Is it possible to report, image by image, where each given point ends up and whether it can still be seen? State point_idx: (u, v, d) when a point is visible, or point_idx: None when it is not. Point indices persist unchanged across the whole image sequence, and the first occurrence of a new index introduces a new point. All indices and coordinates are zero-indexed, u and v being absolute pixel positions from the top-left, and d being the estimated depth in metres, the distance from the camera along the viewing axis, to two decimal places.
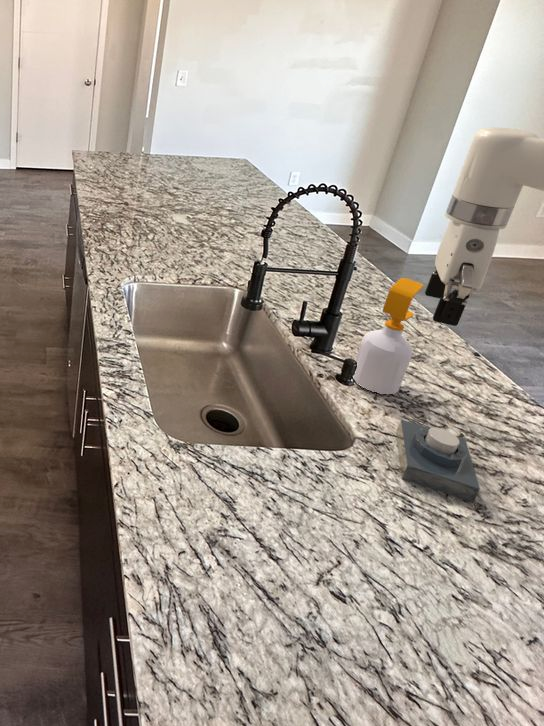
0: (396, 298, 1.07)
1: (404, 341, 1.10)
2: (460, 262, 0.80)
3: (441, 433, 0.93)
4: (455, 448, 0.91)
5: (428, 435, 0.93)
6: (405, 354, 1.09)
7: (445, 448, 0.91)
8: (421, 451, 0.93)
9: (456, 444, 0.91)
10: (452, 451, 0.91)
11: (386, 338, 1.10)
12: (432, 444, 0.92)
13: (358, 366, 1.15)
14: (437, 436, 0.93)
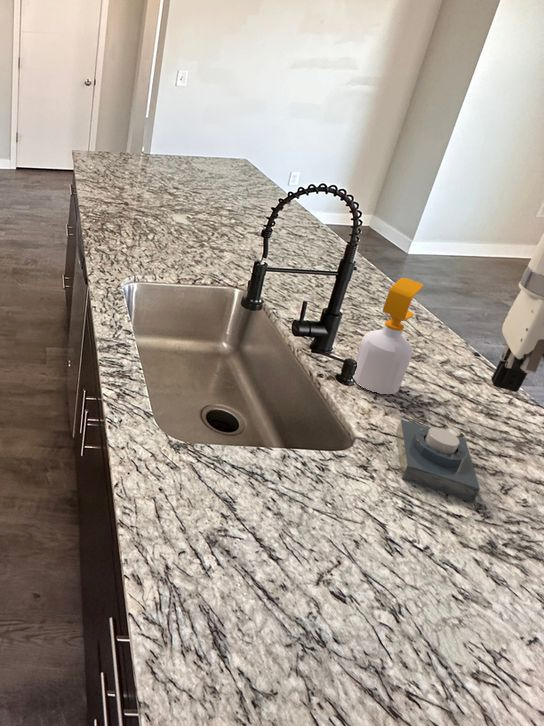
0: (396, 298, 1.07)
1: (404, 341, 1.10)
2: (536, 338, 0.77)
3: (441, 433, 0.93)
4: (455, 448, 0.91)
5: (428, 435, 0.93)
6: (405, 354, 1.09)
7: (445, 448, 0.91)
8: (421, 451, 0.93)
9: (456, 444, 0.91)
10: (452, 451, 0.91)
11: (386, 338, 1.10)
12: (432, 444, 0.92)
13: (358, 366, 1.15)
14: (437, 436, 0.93)
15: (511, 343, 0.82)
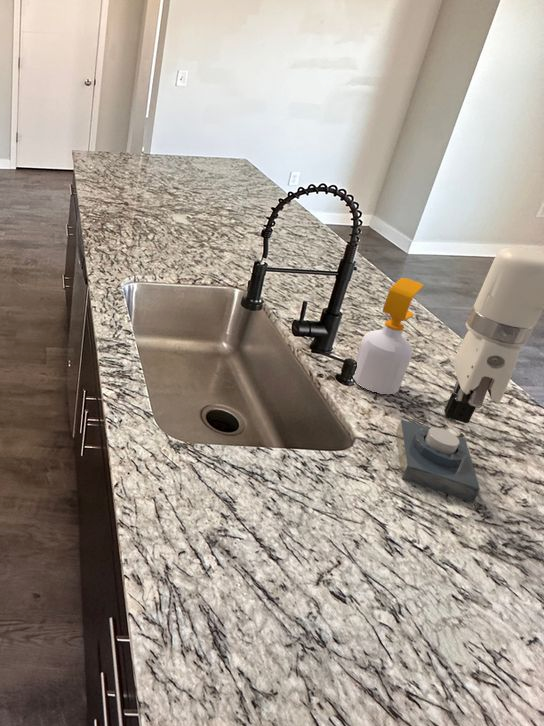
0: (396, 298, 1.07)
1: (404, 341, 1.10)
2: (481, 376, 0.82)
3: (441, 433, 0.93)
4: (455, 448, 0.91)
5: (428, 435, 0.93)
6: (405, 354, 1.09)
7: (445, 448, 0.91)
8: (421, 451, 0.93)
9: (456, 444, 0.91)
10: (452, 451, 0.91)
11: (386, 338, 1.10)
12: (432, 444, 0.92)
13: (358, 366, 1.15)
14: (437, 436, 0.93)
15: (460, 378, 0.87)
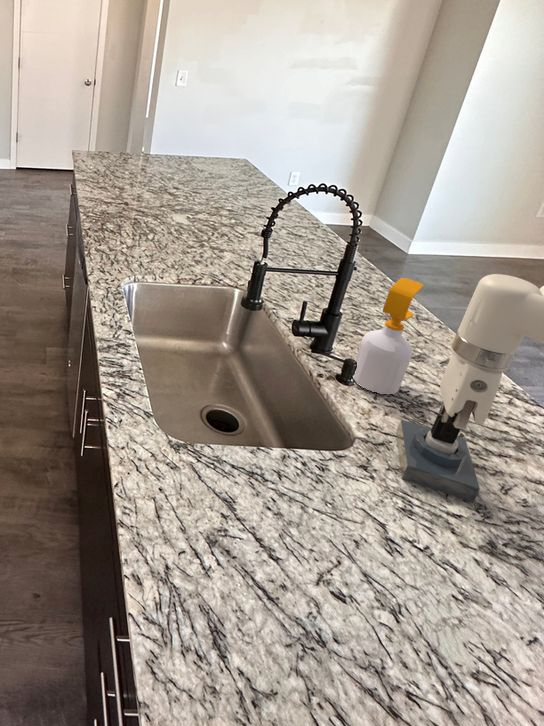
0: (396, 298, 1.07)
1: (404, 341, 1.10)
2: (464, 399, 0.85)
3: None
4: (454, 450, 0.91)
5: (427, 437, 0.94)
6: (405, 354, 1.09)
7: (444, 450, 0.91)
8: (421, 451, 0.93)
9: (455, 446, 0.91)
10: None
11: (386, 338, 1.10)
12: (431, 446, 0.93)
13: (358, 366, 1.15)
14: None
15: (445, 400, 0.89)
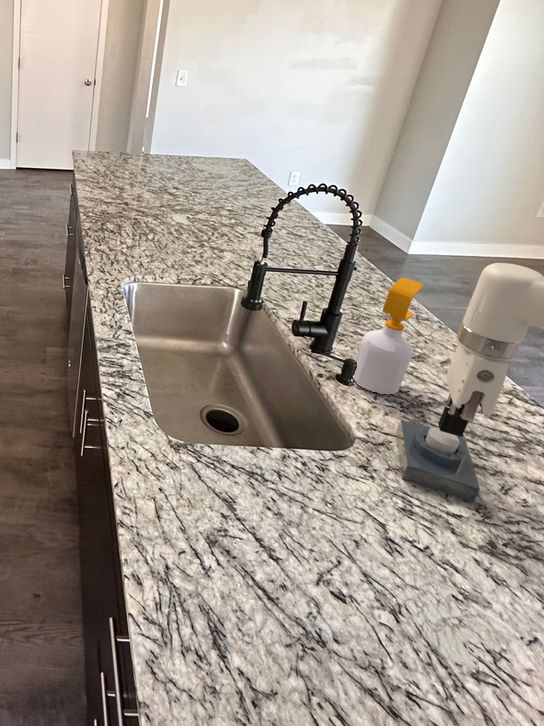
0: (396, 298, 1.07)
1: (404, 341, 1.10)
2: (471, 390, 0.84)
3: (441, 433, 0.93)
4: (455, 448, 0.91)
5: (428, 435, 0.93)
6: (405, 354, 1.09)
7: (445, 448, 0.91)
8: (421, 451, 0.93)
9: (456, 444, 0.91)
10: (452, 451, 0.91)
11: (386, 338, 1.10)
12: (432, 444, 0.92)
13: (358, 366, 1.15)
14: (437, 436, 0.93)
15: (452, 392, 0.88)
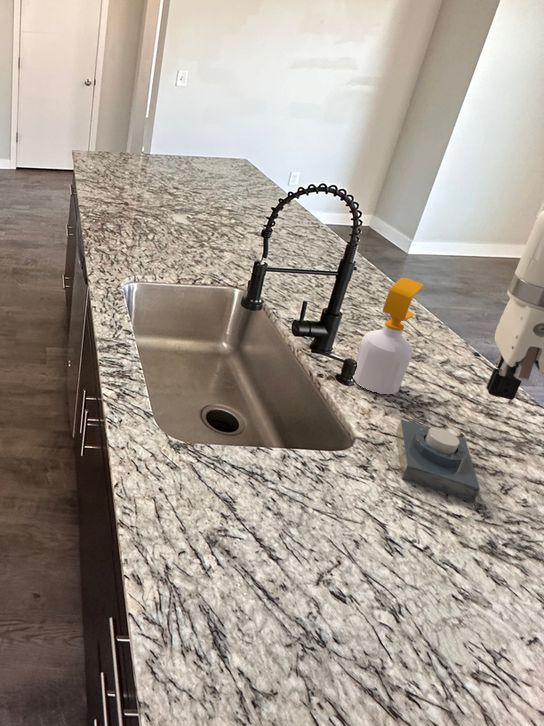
0: (396, 298, 1.07)
1: (404, 341, 1.10)
2: (527, 346, 0.77)
3: (441, 433, 0.93)
4: (455, 448, 0.91)
5: (428, 435, 0.93)
6: (405, 354, 1.09)
7: (445, 448, 0.91)
8: (421, 451, 0.93)
9: (456, 444, 0.91)
10: (452, 451, 0.91)
11: (386, 338, 1.10)
12: (432, 444, 0.92)
13: (358, 366, 1.15)
14: (437, 436, 0.93)
15: (503, 351, 0.82)
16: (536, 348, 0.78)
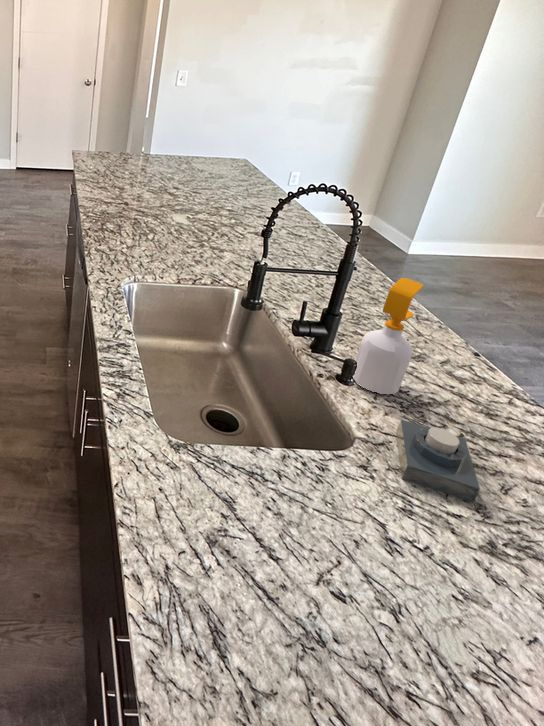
0: (396, 298, 1.07)
1: (404, 341, 1.10)
2: None
3: (441, 433, 0.93)
4: (455, 448, 0.91)
5: (428, 435, 0.93)
6: (405, 354, 1.09)
7: (445, 448, 0.91)
8: (421, 451, 0.93)
9: (456, 444, 0.91)
10: (452, 451, 0.91)
11: (386, 338, 1.10)
12: (432, 444, 0.92)
13: (358, 366, 1.15)
14: (437, 436, 0.93)
15: None
16: None
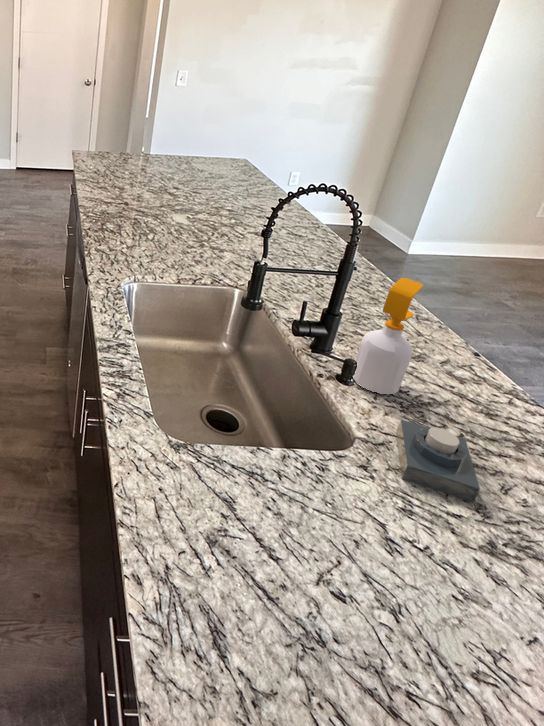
0: (396, 298, 1.07)
1: (404, 341, 1.10)
2: None
3: (441, 433, 0.93)
4: (455, 448, 0.91)
5: (428, 435, 0.93)
6: (405, 354, 1.09)
7: (445, 448, 0.91)
8: (421, 451, 0.93)
9: (456, 444, 0.91)
10: (452, 451, 0.91)
11: (386, 338, 1.10)
12: (432, 444, 0.92)
13: (358, 366, 1.15)
14: (437, 436, 0.93)
15: None
16: None
